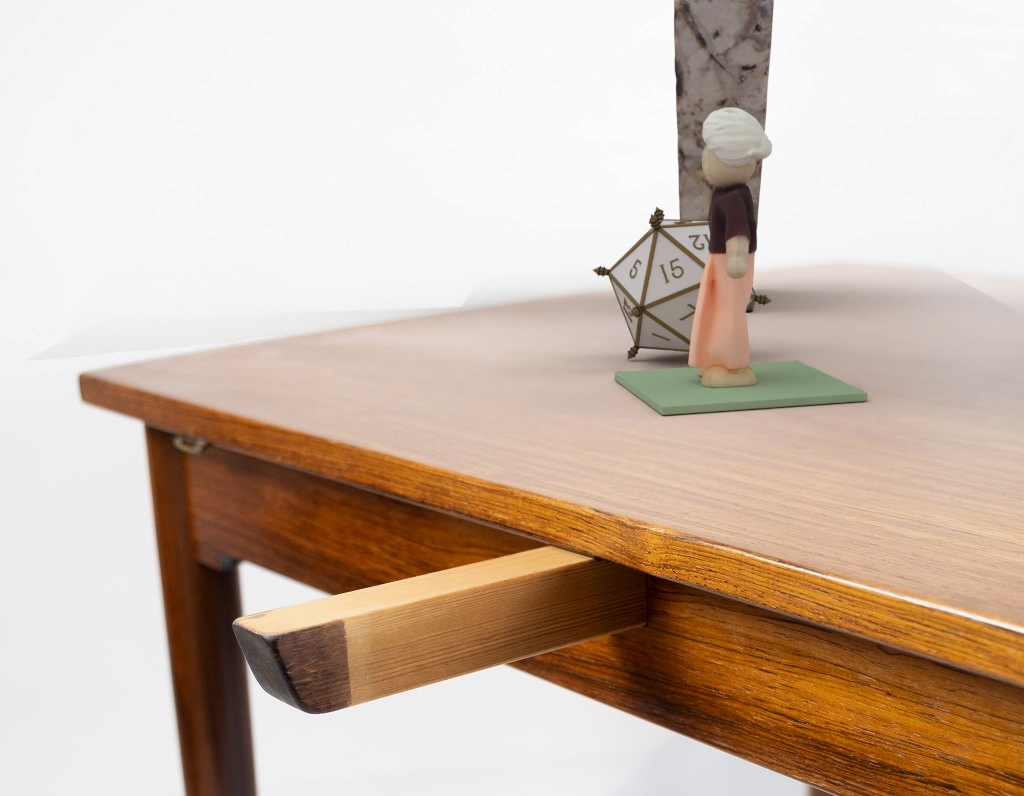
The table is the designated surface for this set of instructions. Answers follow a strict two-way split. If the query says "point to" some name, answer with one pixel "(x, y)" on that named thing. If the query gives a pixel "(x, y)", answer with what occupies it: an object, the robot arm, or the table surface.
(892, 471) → the table surface
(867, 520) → the table surface
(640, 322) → the game die
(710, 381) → the grandmother figurine
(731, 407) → the mat
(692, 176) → the stone block
